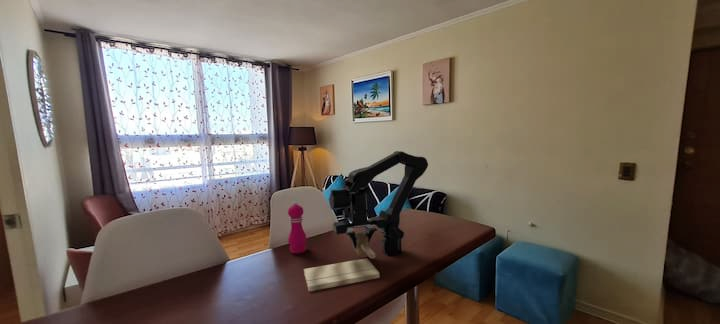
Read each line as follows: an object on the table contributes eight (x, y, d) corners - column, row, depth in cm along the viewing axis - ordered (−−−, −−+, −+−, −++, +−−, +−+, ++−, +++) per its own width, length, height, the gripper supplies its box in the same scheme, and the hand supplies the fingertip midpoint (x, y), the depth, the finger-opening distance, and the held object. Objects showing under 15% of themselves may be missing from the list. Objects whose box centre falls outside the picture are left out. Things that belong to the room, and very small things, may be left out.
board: (367, 262, 101) (366, 258, 101) (379, 277, 89) (379, 272, 89) (304, 273, 94) (303, 268, 94) (308, 291, 83) (308, 286, 83)
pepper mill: (302, 254, 110) (299, 203, 108) (285, 253, 111) (282, 203, 110) (309, 247, 117) (307, 199, 115) (293, 246, 118) (290, 199, 117)
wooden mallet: (363, 246, 107) (362, 232, 107) (379, 264, 92) (378, 247, 92) (353, 248, 106) (352, 234, 106) (367, 266, 91) (366, 249, 91)
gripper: (375, 198, 113) (376, 237, 114) (328, 203, 108) (331, 244, 109) (386, 204, 102) (387, 246, 104) (335, 210, 97) (337, 255, 98)
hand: (360, 247), depth 104 cm, fingers closed on wooden mallet, 4 cm apart
